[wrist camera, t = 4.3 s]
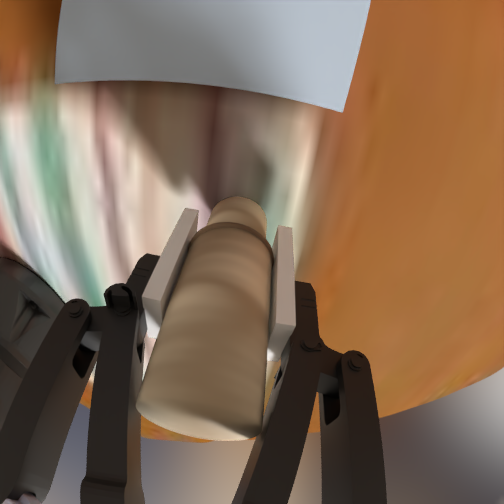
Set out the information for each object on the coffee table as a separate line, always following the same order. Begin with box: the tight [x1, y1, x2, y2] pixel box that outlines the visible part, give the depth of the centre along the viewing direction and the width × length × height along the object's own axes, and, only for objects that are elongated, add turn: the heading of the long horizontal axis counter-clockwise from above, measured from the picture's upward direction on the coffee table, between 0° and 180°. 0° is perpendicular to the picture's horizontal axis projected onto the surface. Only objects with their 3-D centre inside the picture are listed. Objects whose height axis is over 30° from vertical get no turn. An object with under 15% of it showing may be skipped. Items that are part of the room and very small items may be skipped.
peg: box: [136, 197, 274, 441], centre depth 13 cm, size 4×4×12 cm
